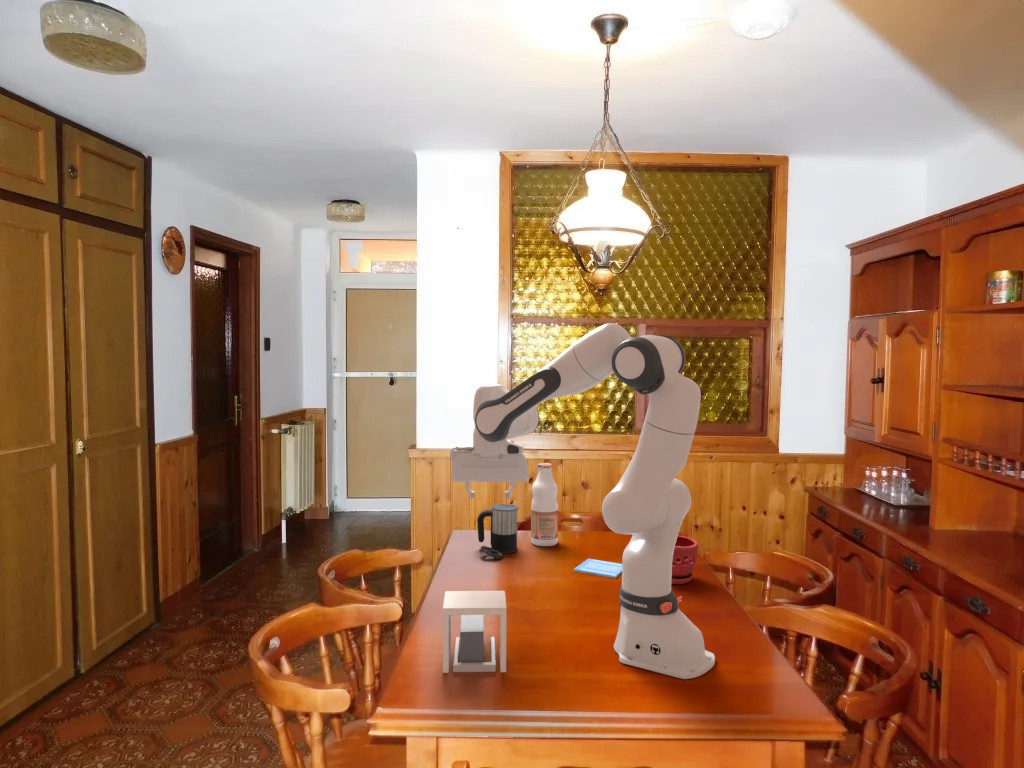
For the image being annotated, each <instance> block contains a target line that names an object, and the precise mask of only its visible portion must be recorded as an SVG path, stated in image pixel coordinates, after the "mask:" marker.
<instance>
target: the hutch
mask: <svg viewBox="0 0 1024 768" xmlns="http://www.w3.org/2000/svg"><path fill="white" fill-rule="evenodd" d="M461 615H483V616H487V615H488V616H489V615H491V616H494V615H495V616H496V615H498V616H499V621H498V622H499V624H498V625H499V628H498V629H499V630H498V631H499V632H498V633H499V635H498V636H499V638H498V639H499V644H498V646H499V647H498V648H499V650H498V652H499V654H498V655H499V668H500V669H499V671H500V673H507V599H506V590H446V591H445V592H444V598H443V605H442V674H449V670H450V664H451V653H452V650H451V649H452V645H451V643H452V641H451V638H452V637H451V634H452V633H451V630H452V629H451V628H452V627H451V626H452V625H451V623H452V622H451V621H452V620H451V618H452V616H461ZM490 645H491V646H490V648H491V649H490V651H491V652H490V654H491V661H486V662H484V661H483V662H472V663H460V662H459V655H460V636H455V645H454V656H453V657H454V659H453V665H452V666H453V667H452V668H453V669H452V671H453V673H487V672H489V673H490V672H491V673H492V672H493V673H495V672H496V668H497V667H496V665H497V664H496V663H497V662H496V639H495V636H491V637H490Z"/></svg>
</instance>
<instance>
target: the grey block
mask: <svg viewBox="0 0 1024 768" xmlns="http://www.w3.org/2000/svg"><path fill="white" fill-rule="evenodd" d="M460 616H461V618H460V629H459V637H460V641H459V658H460V659H459V663H472V662H484V652H485V651H484V637H485V636H484V635H485V634H484V632H485V631H484V628H485V627H484V615H460Z"/></svg>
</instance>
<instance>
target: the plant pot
mask: <svg viewBox="0 0 1024 768" xmlns="http://www.w3.org/2000/svg"><path fill="white" fill-rule="evenodd" d="M698 548H699V543H698V542H697V541H696V540H695V539H693V538H691V537H687V536H684V535H683V536H682V535H678V537H677V540H676V544H675V548H674V553H673V559H672V581H671V585H673V584H674V585H679V584H686V583H689V582H690V581H692V580H693V577H694V574H693V573H692V572H693V570H694V568H695V566H696V563H697V558H698Z"/></svg>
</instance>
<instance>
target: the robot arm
mask: <svg viewBox="0 0 1024 768" xmlns="http://www.w3.org/2000/svg"><path fill="white" fill-rule="evenodd" d="M686 359H687V356H686V352H685V349H684V347H683V345H682V344H681V343H680V342H679V341H678V340H676V339H675V338H673V337H670V336H668V335H661V334H658V335H656V334H655V335H654V334H646V335H640V336H633V337H632V336H631V335H630V334H629V332H628V331H627V330H626V329H625V328H624V327H623V326H621V325H620V324H617V323H615V322H608V323H605V324H603V325H601V326H598V327H597V328H595V329H593V330H590V331H589V332H588V333H587V334H584V336H582V337H580V338H579V339H578V340H576V342H574V343H572V344H571V346H569V347H568V348H567V349H565V350H564V351H563V352H562V353H560V354H559V355H558V356H557V357H555V359H553V360H552V361H551V362H549V363H547V364H546V365H545V366H544V367H542V368H541V369H540V370H539V371H537V372H536V373H534V374H532V375H531V376H529V377H528V378H527V379H526V380H524V381H522V382H521V383H519V384H518V385H517V386H515V387H514V388H512V389H511V390H509V389H508V388H507V387H506V385H504V384H499V383H496V384H488V385H482V386H480V387H478V388H477V389H476V390H475V393H474V397H473V410H472V412H473V413H472V414H473V416H472V417H473V419H472V420H473V422H474V430H473V435H472V436H473V437H472V441H473V442H472V445H466V446H465V445H464V446H461V445H457V446H455V447H453V448H452V449H451V450H450V453H449V456H450V457H449V459H450V462H451V463H452V467H451V480H452V481H453V482H454V483H464V487H465V488H466V491H467V492H468V497H469V498H468V499H470V500H472V499H473V500H475V498H476V496H475V494H476V491H475V490H472V489H471V483H506V482H507V483H508V484H509V488H508V490H504V499H506V500H507V499H508V500H511V499H512V497H511V496H512V495H511V493H512V491H513V490H514V488H515V487H516V486H515V485H516V483H517V482H518V483H520V482H521V483H523V482H524V483H525V482H526V481H528V479H529V468H528V467H529V466H528V461H527V458H526V456H525V454H524V449H525V448H524V446H523V444H522V443H520V442H518V441H515V440H510V439H512V438H517V437H523V436H527V435H529V434H532V433H533V432H535V430H537V428H538V426H539V422H540V415H539V414H540V413H539V410H538V407H537V406H538V405H540V404H541V403H543V402H545V401H548V400H551V399H552V400H553V399H555V398H559V397H560V398H561V397H566V396H573V395H577V394H582V393H584V392H587V391H588V390H591V389H592V388H594V387H596V386H598V385H599V384H601V383H602V382H603V381H604V380H606V379H608V377H610V376H612V375H613V374H614V376H615V377H616V378H617V379H618V380H619V381H621V382H622V383H623V384H624V385H626V386H628V387H630V388H632V389H633V390H635V391H636V392H637V393H638V394H639V395H642V396H643V395H647V396H648V405H647V411H646V414H645V416H644V417H645V418H644V421H643V424H642V428H641V431H640V435H639V439H638V442H637V445H636V448H635V451H634V454H633V455H632V458H631V460H630V462H629V464H628V466H627V467H626V468H625V471H624V473H623V474H622V476H621V478H620V479H619V480H618V482H617V483H616V485H615V487H613V488H612V489H611V491H610V492H608V493H607V494H606V496H605V497H604V499H603V500H602V504H601V514H602V518H603V520H604V523H605V525H606V526H607V527H608V528H609V529H610V530H611V531H612V532H614V533H616V534H618V535H632V536H631V538H630V540H629V542H628V544H627V545H626V547H625V548H624V550H623V551H622V552H623V553H622V559H621V560H622V561H621V562H622V563H621V564H622V573H621V585H620V588H619V605H620V615H619V616H620V617H619V622H618V623H619V624H618V628H617V633H616V637H615V641H614V644H613V649H614V651H615V652H616V654H617V655H618V660H619V662H620V663H622V664H625V665H629V666H632V667H636V668H640V669H643V670H648V671H651V672H655V673H658V674H663V675H666V676H670V677H674V678H678V679H682V680H688V679H694V678H697V677H700V676H702V675H704V674H705V673H707V672H708V671H710V670H711V669H712V668H713V667H714V666H715V663H716V657H715V653H713V652H711V651H708V650H707V649H705V648H706V647H705V640H704V636H703V633H702V631H701V630H700V629H699V628H698V627H697V626H696V624H694V623H693V622H692V621H691V620H690V619H689V618H688V617H687V616H686V615H685V614H684V612H682V611H681V609H680V608H679V603H680V602H682V601H683V600H682V599H683V596H682V595H680V596H678V597H676V596H675V592H674V591H673V588H672V584H671V581H672V559H673V553H674V548H675V544H676V540H677V537H678V536H679V533H680V529H681V527H682V523H683V521H684V519H685V517H686V516H687V514H688V513H689V512H690V509H691V507H692V500H693V499H692V494H691V491H690V489H689V488H688V486H687V484H685V483H684V482H683V481H682V480H680V479H678V478H676V477H677V475H679V473H680V472H681V471H682V470H683V469H684V467H685V465H686V463H687V461H688V458H689V454H690V450H691V448H692V447H691V446H692V444H693V440H694V436H695V433H696V430H697V425H698V422H699V415H700V408H701V400H702V399H701V396H702V394H701V393H702V392H701V388H700V386H699V385H698V383H696V382H695V381H694V380H692V379H691V378H690V377H687V376H684V375H682V373H681V372H682V371H683V369H684V367H685V366H686Z"/></svg>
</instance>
